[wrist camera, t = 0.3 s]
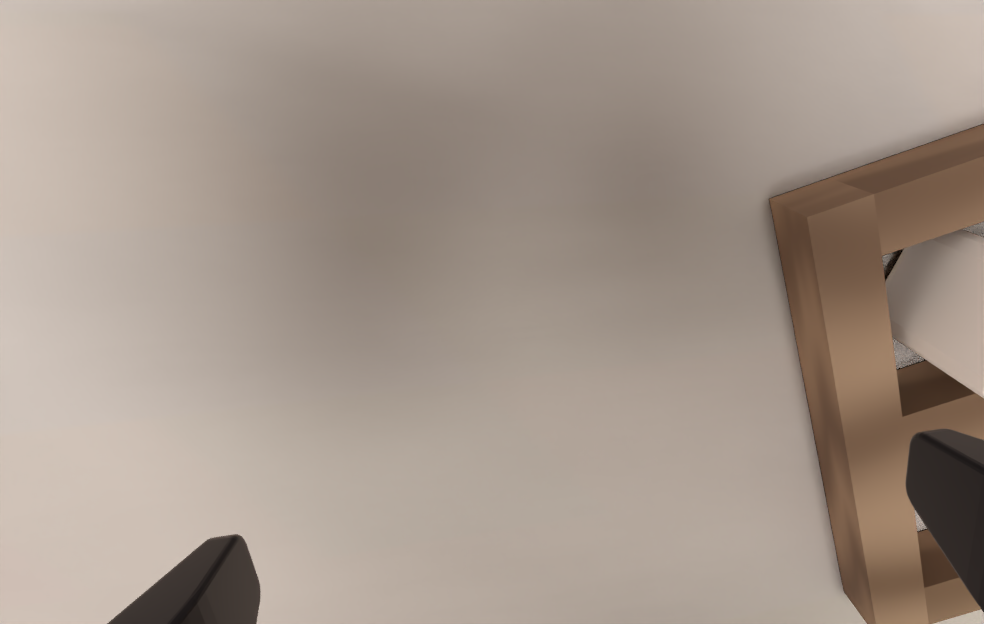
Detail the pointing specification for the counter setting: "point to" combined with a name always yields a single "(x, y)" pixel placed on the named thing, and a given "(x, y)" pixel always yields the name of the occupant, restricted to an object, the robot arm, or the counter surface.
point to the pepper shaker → (942, 304)
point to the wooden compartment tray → (878, 365)
